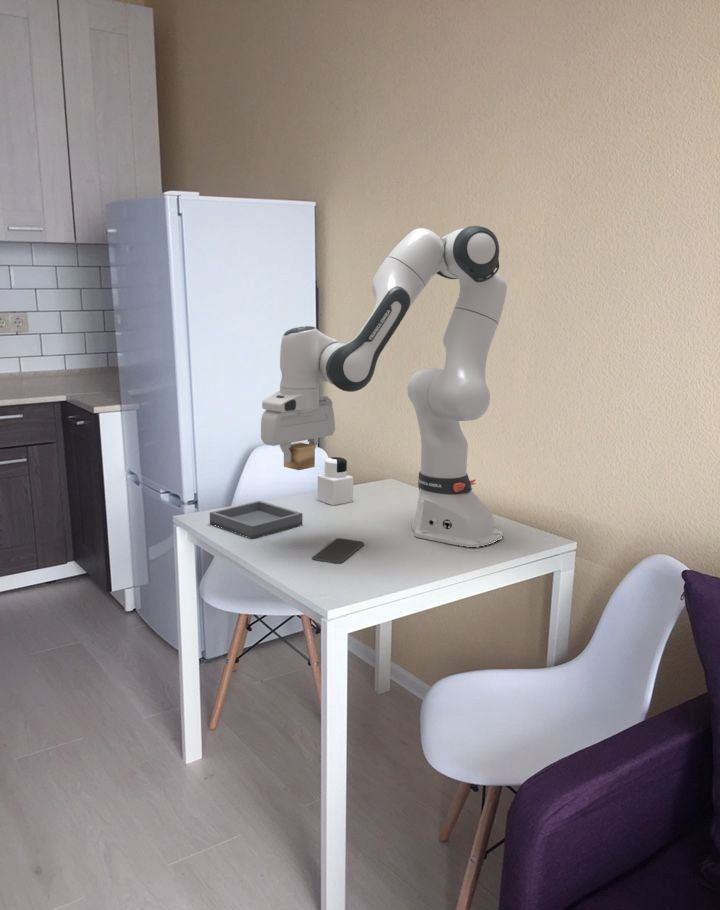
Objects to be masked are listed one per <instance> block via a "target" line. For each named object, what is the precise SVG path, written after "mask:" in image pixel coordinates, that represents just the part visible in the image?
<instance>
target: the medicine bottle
mask: <svg viewBox="0 0 720 910" xmlns="http://www.w3.org/2000/svg"><path fill="white" fill-rule="evenodd" d="M347 471H348V461H347V459H345V458H343V457H341V456H332V457H328V458H326V459H325V460H324V474H323V473H322V474H318V475H317V501H319V502H322V503H325V504H328V505H330V506H337V505H343V504H348V503H352V502H354V476H352V475H349V474H347Z"/></svg>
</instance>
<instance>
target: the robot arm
mask: <svg viewBox="0 0 720 910" xmlns="http://www.w3.org/2000/svg"><path fill="white" fill-rule="evenodd" d="M499 244H500V243H499V241H498V238H497V236H496V234H494V232H493V231H491V229H489V228H487V227H485V226H480V225H471V226H466V227H462V228H459V229H456V230H454V231H452V232H450V233H448V234H445V235H442V236H439V235H438V234H436V232H434V231H432V230H430V229H428V228H424V227H419V228H415V229H413V230H412V231H411V232H409V233H408V234H407V235H406V236H405V237H404V238H403V239H402V240H400V241H399V242H398V244H397V245H395V247H394V248H393V249H392V250H391V252H390V253H389V254H388V255H387V256H386V258H385V259H384V261H383V262H382V263H381V264H380V266H379V267H378V269H377V271H376V273H375V274H374V277H373V279H372V282H371V285H372V287H371V288H372V292H373V296H374V297H375V307H374V308H373V311H372V313H371V314H370V316H369V317H368V319H367V320H366V321H365V323H364V324H363V326H362V327H361V329H360V330H359V331H358V333H357V334H356V336H355V337H354V338H353V339H352V340H350V341H349V342H347V343H346V342H342V341H340V340H338V339H334V338H333V337H331V336H328V335H326V334H324V333H323V332H321V331H320V330H318V329H317V327H315V326H311V325H309V326H307V325H306V326H297V327H293V328H290V329H288V330H286V331H285V332H284V334H283V335H282V336H281V337H282V338H281V341H280V342H281V344H280V355H279V368H280V372H281V378H280V380H281V381H280V382H279V390H278V391H277V392H275V393H274V394H272V395H270V396H268V397H266V398H264V399H263V401H262V403H261V405H262V406H261V407H262V409H263V410H264V411H263V413H262V414H261V419H260V421H261V422H260V439H261V441H262V443H263V444H264V445H267V446H273V447H274V446H279V448H280V450H281V451H282V454H283V462H284V461H285V462H292V461H294V454H291V452H290V449H289V448H290V447H291V444H293V443H298V442H302V441H307V442H308V444H310V445H314V446H315V449H316V448H317V446H318V444H319V439H320V438H325V437H331V436H333V435H334V433H335V431H336V424H335V423H336V422H335V413H334V408H333V401H332V400H331V398H330V397H329V396H320V384H321V383H322V382H327V383H328V384H331V385H333V386H335V387H336V388H338V389H339V390H341V391H343V392H349V393H350V392H351V393H352V392H356V391H359V390H362V389H363V388H365V387H366V386H367V385H368V384H369V383H370V381H371V380H372V378H373V376H374V374H375V371H376V366H377V363H378V359H379V357H380V355H381V353H382V351H383V350H384V349H385V347H386V345H387V344H388V342H389V341H390V339H391V338H392V337H393V335H394V334H395V332H396V330H397V329H398V328H399V326H400V323H401V322H402V321H403V319H404V318H405V316H406V314H407V312H408V311H409V309H410V307H411V306H412V305H413V303H414V302H415V301H416V299H417V298H419V295H421V293H422V292H423V291H424V289H425V288H426V286H428V283H429V282H430V280H431V279H432V278H433V277H434V276H435V275H438V276H440V277H443V278H445V279H448V280H458V282H459V283H458V284H459V293H458V297H457V300H456V302H455V305H454V308H453V310H452V313H451V316H450V318H449V321H448V324H447V326H446V328H445V332H444V334H443V338H442V343H443V346H444V347H445V361H444V363H445V365H444V367H443V368H437V367H430V368H425V369H420V370H417V371H416V372H415V373H413V375H412V376H411V377H410V379H409V381H408V385H407V395H408V398H409V400H410V402H411V403H412V405H413V407H414V410H415V414H416V418H417V423H418V427H419V434H420V445H421V447H420V471H419V472H418V481H417V487H418V500H417V505H416V511H415V516H414V519H413V523H412V525H411V529H412V531H413V532H414V537H416V538H420V539H424V540H429V541H434V542H439V543H445V544H450V545H454V546H458V545H459V546H458V547H463V546H466V547H465V548H469V547H476V548H478V547H477V546H482V545H486V544H489V543H492V542H494V541H496V540H498V539H500V538H501V537H502V536H503V537H504V532H503V531H501V530H498V529H495V522H494V515H493V512H492V510H491V509H490V508H489V507H488V506H487V505H486V504H485V503H484V502H483V501H482V500H481V499H480V498H479V497H478V496H477V495H476V494H475V493H474V492H473V488H472V486H473V485H476V482H475V481H476V479H471V480H470V477H469V475H468V473H467V472H468V471H467V465H468V450H469V449H468V447H469V443H468V440H467V438H466V436H464V435H465V434H463V430H462V429H461V426H460V425H461V424H460V422H466V421H467V422H468V421H469V422H470V421H476V420H478V419H480V418H481V417H482V416H483V415H485V414H486V412H487V410H488V408H489V406H490V402H491V393H490V390H489V387H488V386H487V381H486V367H487V360H488V355H489V350H490V348H491V345H492V342H493V339H494V337H495V334H496V331H497V328H498V325H499V322H500V320H501V317H502V314H503V310H504V305H505V302H506V296H507V289H508V288H507V287H508V285H507V282H506V280H505V279H504V277H502V276H501V275H499V273H498V271H499V269H500V261H499V257H500V256H499V255H500V245H499ZM498 535H499V536H498Z"/></svg>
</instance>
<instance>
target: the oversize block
mask: <svg viewBox="0 0 720 910" xmlns="http://www.w3.org/2000/svg"><path fill="white" fill-rule="evenodd" d="M289 449H290V452H291V454H294V461H292V462H285V461H284V460H283V467H284V468H288V469H293V470H296V471H303V470H307V469H312V468H315V467H316V465H315V464H316V462H315V461H316V457H315V455H316V452H315V450H316V448H315V446H314V445H310V444H309V443H303V442H301V441H298V442H293V443H291V447H290V448H289Z"/></svg>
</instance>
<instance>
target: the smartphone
mask: <svg viewBox="0 0 720 910" xmlns="http://www.w3.org/2000/svg"><path fill="white" fill-rule="evenodd" d="M364 546H365V542H364V541H361V540H353V539H348V538H347V539H346V538H342V537H341V538H340V537H339V538H335V539H333V540H332V541H330V543H328V544H327V545H325V546H324V547H323V548H322V549H320V551H318V552H317V553H315V554H314V555H313V556H311V560H312V561H315V562H316V561H317V562H322V563H323V562H324V563H328V564H336V565H342V564H343V563H345V562H346V561H347V560H349V559H350V558H351V557H352V556H353V555H354V554H356V553H357V552H359V550H361V549H362V548H363V547H364Z"/></svg>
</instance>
